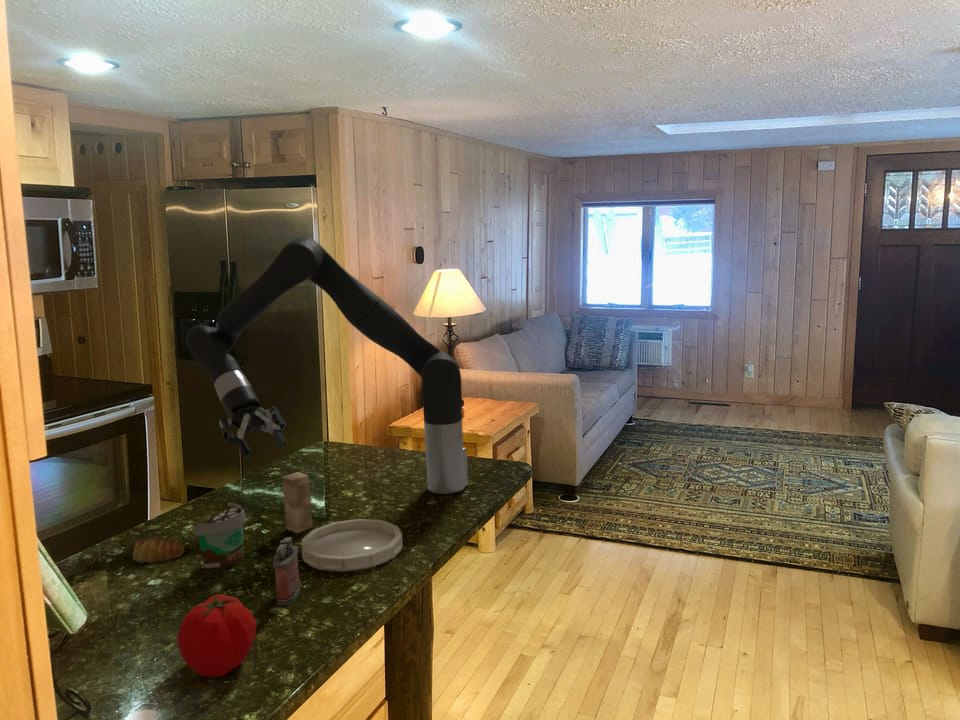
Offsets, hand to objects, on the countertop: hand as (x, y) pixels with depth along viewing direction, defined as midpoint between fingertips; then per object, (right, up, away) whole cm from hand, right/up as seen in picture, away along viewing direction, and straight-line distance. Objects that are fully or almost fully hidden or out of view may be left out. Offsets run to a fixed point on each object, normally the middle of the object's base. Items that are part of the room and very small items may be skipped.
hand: (266, 450), depth 171 cm
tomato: (+9, -26, -57) cm, 63 cm away
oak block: (+9, -16, -5) cm, 19 cm away
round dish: (+22, -18, -17) cm, 33 cm away
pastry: (-18, -20, -16) cm, 31 cm away
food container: (-1, -20, -21) cm, 29 cm away
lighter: (+14, -22, -35) cm, 44 cm away
